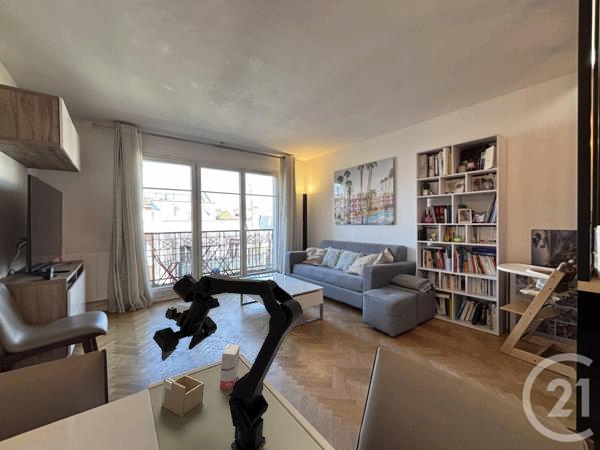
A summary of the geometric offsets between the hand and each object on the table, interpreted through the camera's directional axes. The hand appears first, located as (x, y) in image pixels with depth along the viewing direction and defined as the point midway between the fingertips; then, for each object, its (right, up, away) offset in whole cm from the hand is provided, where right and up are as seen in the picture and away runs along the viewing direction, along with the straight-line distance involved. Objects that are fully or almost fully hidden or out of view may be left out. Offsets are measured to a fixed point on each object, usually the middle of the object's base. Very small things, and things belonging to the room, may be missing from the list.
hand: (176, 354), depth 76 cm
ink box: (+12, -18, +15) cm, 26 cm away
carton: (+1, -16, +1) cm, 16 cm away
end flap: (0, -16, -2) cm, 16 cm away
